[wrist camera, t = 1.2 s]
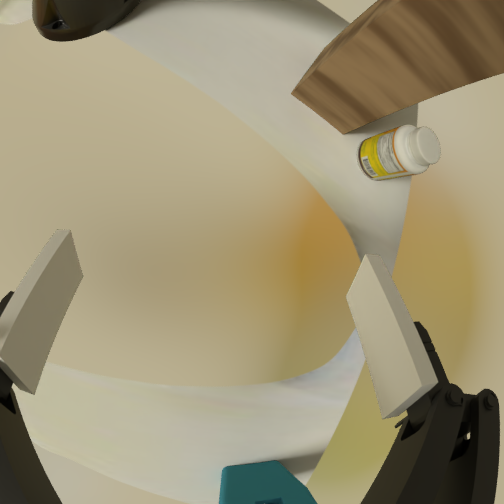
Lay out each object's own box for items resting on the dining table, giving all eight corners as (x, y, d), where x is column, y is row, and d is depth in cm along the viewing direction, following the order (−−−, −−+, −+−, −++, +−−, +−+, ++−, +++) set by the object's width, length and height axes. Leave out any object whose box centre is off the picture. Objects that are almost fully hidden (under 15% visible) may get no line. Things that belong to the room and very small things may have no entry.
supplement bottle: (390, 150, 35) (446, 135, 25) (383, 187, 35) (443, 180, 25) (358, 131, 33) (414, 109, 23) (350, 170, 33) (409, 156, 23)
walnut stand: (343, 134, 33) (581, 54, 4) (290, 93, 30) (506, -63, 2) (369, 85, 33) (552, 2, 4) (324, 48, 31) (491, -76, 2)
